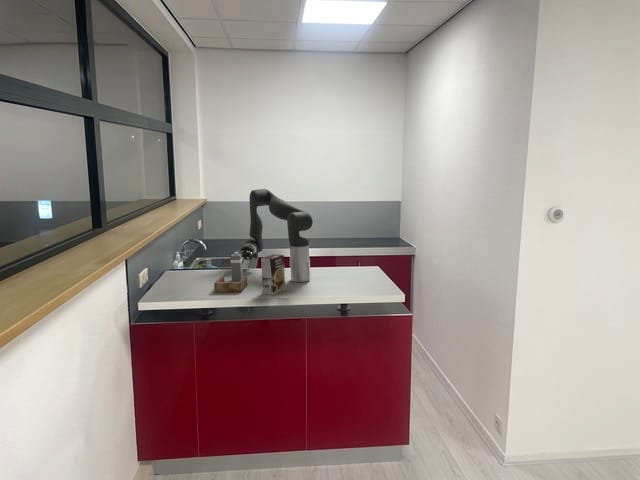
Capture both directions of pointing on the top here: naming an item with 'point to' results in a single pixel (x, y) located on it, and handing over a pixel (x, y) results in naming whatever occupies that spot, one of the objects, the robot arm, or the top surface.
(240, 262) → the connector plug
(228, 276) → the top surface
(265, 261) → the coffee box
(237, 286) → the caddy
